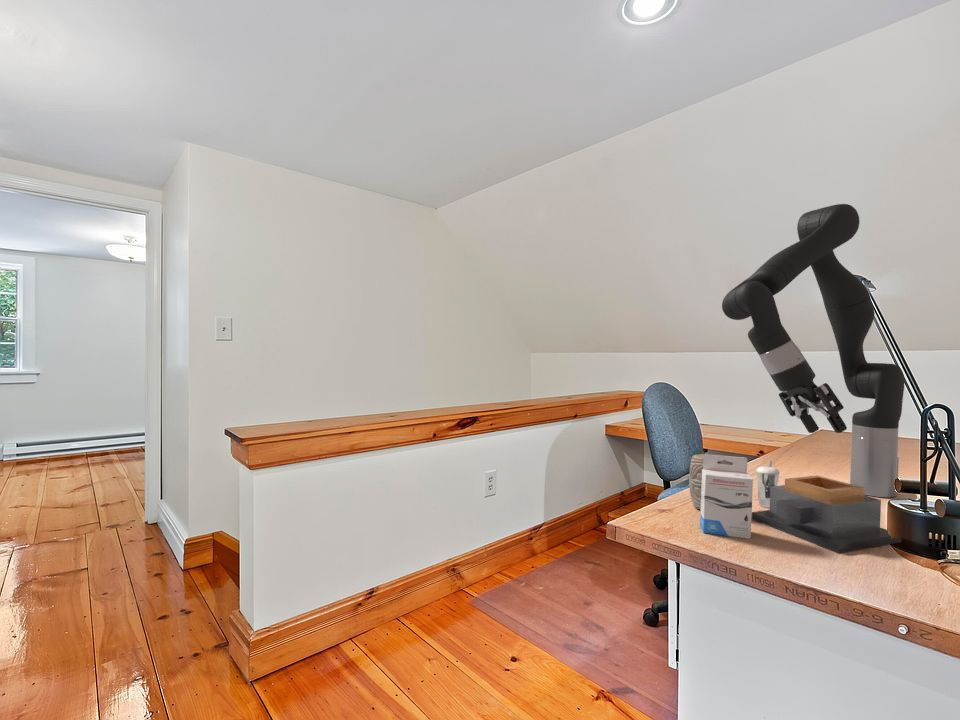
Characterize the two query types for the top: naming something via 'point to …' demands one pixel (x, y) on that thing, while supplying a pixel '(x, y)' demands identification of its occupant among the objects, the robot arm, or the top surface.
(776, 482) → the milkshake
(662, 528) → the top surface
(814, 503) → the stepped frame block
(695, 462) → the carving
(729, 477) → the ink box
